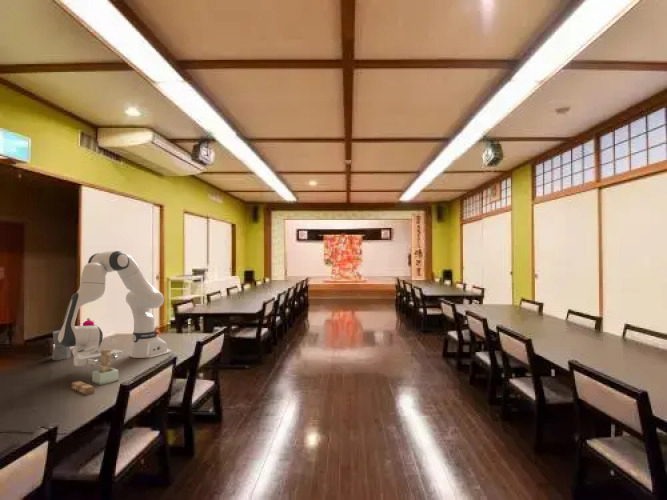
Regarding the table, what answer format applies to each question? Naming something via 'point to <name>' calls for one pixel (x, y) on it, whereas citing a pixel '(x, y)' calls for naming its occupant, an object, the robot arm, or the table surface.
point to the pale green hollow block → (105, 376)
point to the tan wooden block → (105, 360)
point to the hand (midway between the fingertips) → (106, 360)
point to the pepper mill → (88, 322)
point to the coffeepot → (60, 349)
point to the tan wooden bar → (83, 387)
